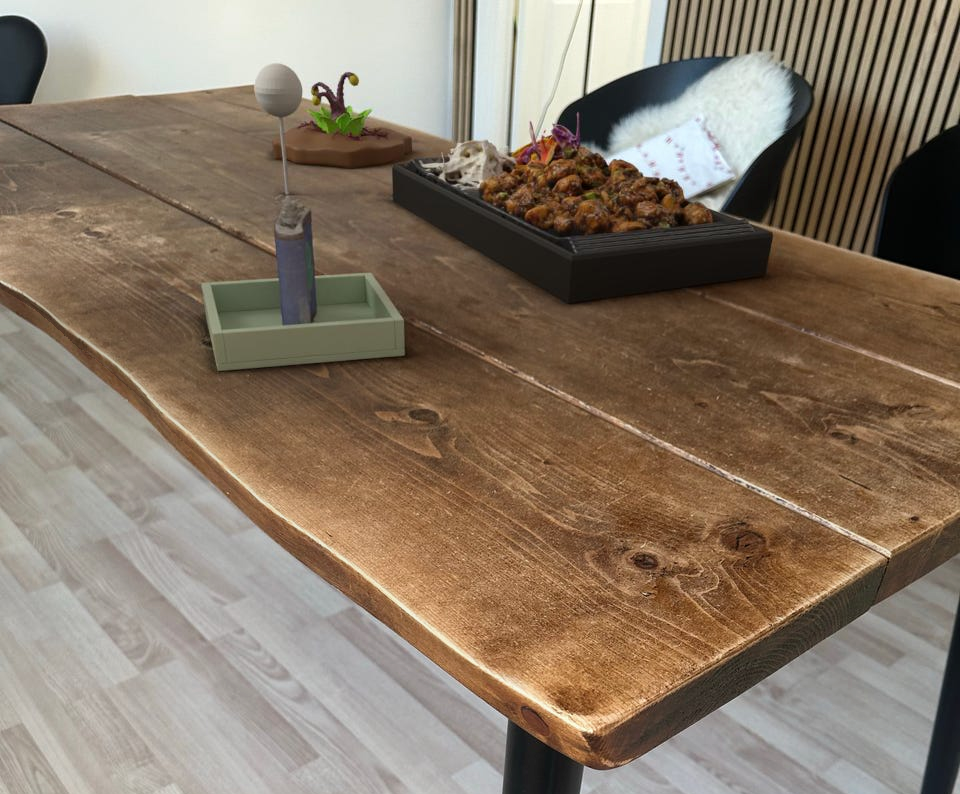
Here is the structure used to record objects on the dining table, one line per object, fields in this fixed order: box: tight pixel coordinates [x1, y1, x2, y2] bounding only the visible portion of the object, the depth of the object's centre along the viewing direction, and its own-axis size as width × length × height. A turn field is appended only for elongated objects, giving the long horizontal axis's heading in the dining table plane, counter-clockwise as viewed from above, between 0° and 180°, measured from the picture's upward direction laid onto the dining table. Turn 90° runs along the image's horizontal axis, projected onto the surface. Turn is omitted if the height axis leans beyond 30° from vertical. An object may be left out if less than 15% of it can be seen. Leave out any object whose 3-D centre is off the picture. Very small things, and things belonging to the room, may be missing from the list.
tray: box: [200, 272, 406, 372], centre depth 84 cm, size 16×14×3 cm
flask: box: [273, 194, 317, 325], centre depth 82 cm, size 9×3×11 cm, turn 4°
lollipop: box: [253, 62, 303, 195], centre depth 123 cm, size 6×6×15 cm
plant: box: [271, 71, 413, 169], centre depth 146 cm, size 20×20×11 cm
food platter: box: [391, 111, 774, 304], centre depth 112 cm, size 45×25×10 cm, turn 26°
